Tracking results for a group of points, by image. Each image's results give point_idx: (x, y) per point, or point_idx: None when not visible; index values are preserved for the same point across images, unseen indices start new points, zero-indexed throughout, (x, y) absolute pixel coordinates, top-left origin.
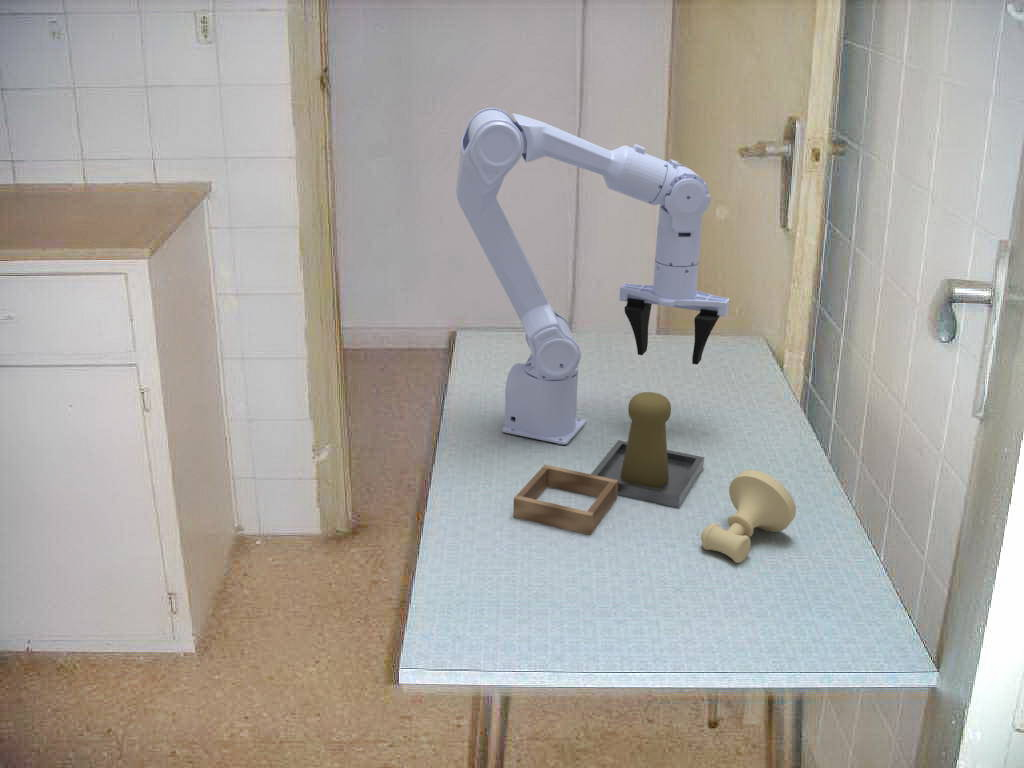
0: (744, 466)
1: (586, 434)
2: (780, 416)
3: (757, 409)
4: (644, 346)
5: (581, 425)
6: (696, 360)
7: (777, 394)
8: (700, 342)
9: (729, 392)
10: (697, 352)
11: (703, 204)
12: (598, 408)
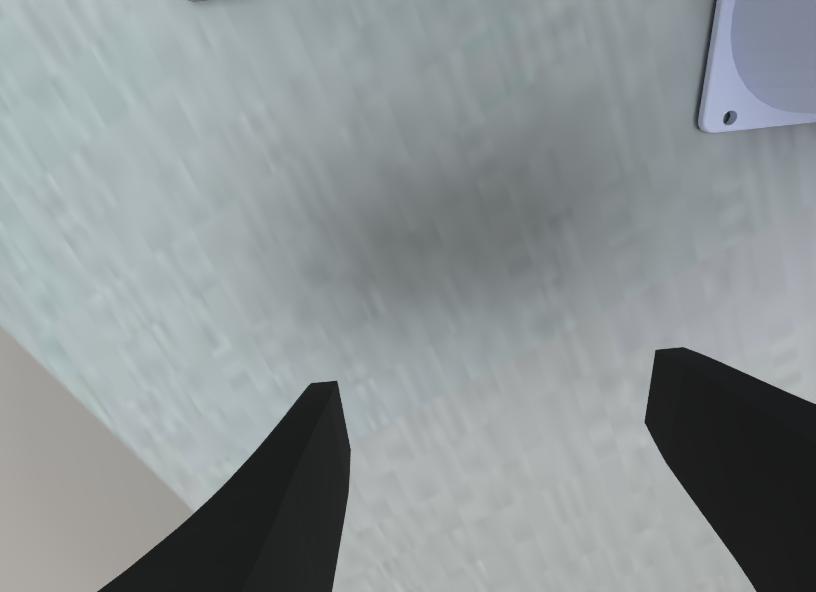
0: (92, 108)
1: (673, 47)
2: (199, 467)
3: None
4: (677, 408)
5: (711, 78)
6: (303, 392)
7: None
8: (234, 488)
9: (372, 522)
10: (283, 425)
11: None
12: (677, 269)
